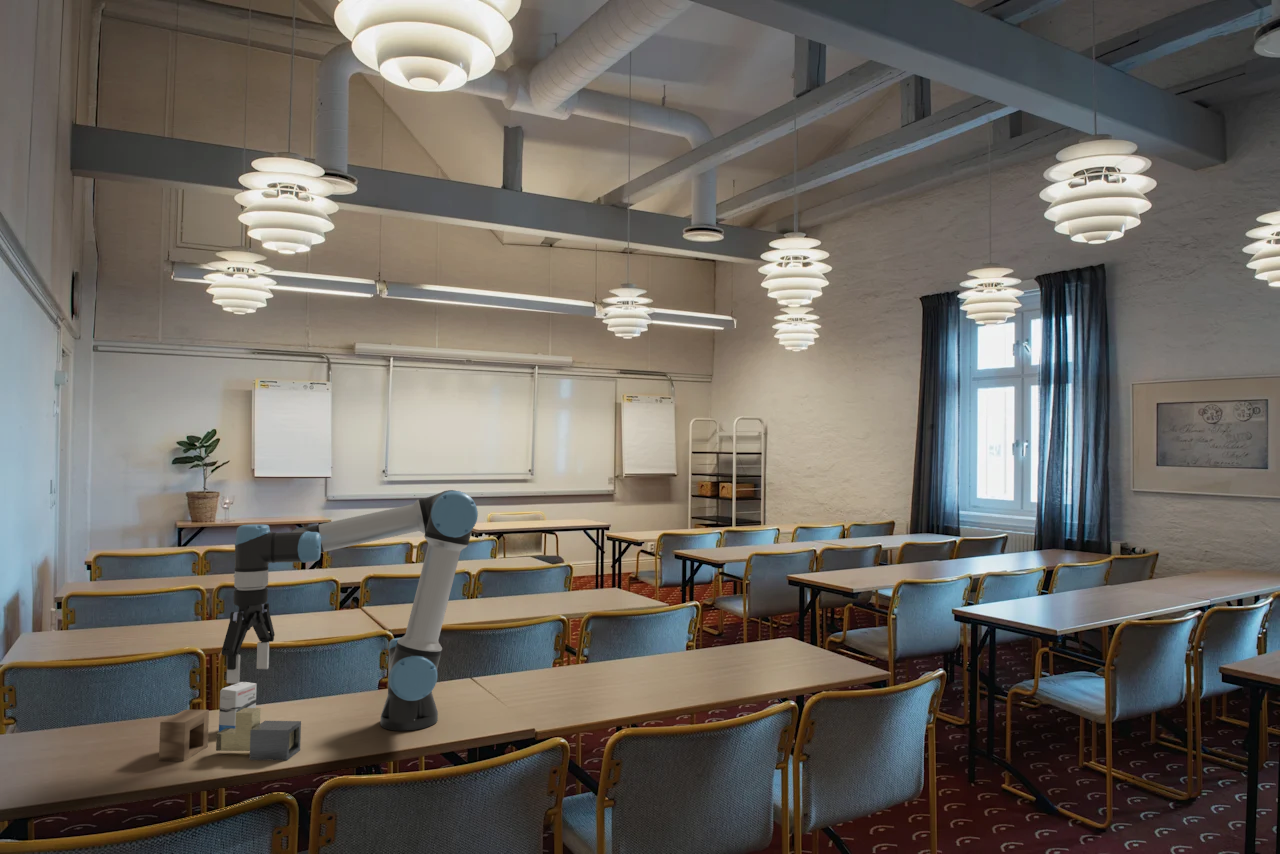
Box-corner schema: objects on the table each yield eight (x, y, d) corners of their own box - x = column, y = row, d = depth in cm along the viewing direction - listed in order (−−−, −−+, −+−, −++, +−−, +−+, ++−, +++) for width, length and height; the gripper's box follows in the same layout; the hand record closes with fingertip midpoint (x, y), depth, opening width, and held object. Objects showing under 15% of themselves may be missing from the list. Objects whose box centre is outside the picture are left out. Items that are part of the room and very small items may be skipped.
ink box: (234, 737, 205) (235, 690, 206) (217, 735, 206) (218, 689, 207) (256, 726, 214) (257, 682, 214) (240, 725, 215) (241, 681, 215)
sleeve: (300, 750, 196) (301, 721, 196) (286, 760, 189) (287, 730, 189) (264, 749, 196) (265, 720, 197) (249, 759, 189) (250, 729, 190)
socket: (207, 746, 198) (209, 709, 199) (183, 761, 188) (185, 722, 189) (184, 746, 198) (185, 709, 199) (158, 760, 188) (160, 722, 189)
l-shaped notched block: (293, 745, 195) (294, 708, 195) (285, 751, 191) (287, 713, 191) (225, 744, 195) (226, 707, 196) (216, 750, 191) (217, 712, 192)
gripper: (262, 580, 208) (259, 662, 207) (206, 595, 183) (203, 689, 182) (290, 580, 208) (287, 663, 207) (238, 595, 183) (235, 689, 182)
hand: (248, 675), depth 194 cm, fingers open, 13 cm apart
